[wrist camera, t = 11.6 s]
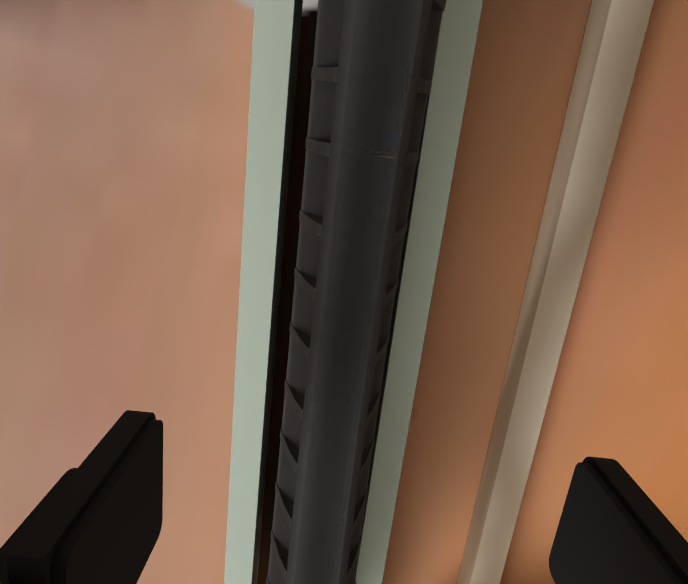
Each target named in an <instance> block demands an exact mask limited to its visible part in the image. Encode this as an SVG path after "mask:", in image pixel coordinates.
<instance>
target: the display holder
mask: <svg viewBox="0 0 688 584" xmlns="http://www.w3.org/2000/svg"><path fill="white" fill-rule="evenodd" d="M302 3H303V0H255V9H254V28H253V46H252V65H251V84H250V103H249V122H248V141H247V160H246V179H245V198H244V217H243V236H242V255H241V274H240V293H239V312H238V331H237V350H236V368H235V387H234V406H233V425H232V444H231V463H230V482H229V501H228V520H227V539H226V558H225V577H224V584H257V579H258V566H259V553H260V540H261V527H262V515H263V502H264V489H265V476H266V463H267V451H268V438H269V425H270V412H271V400H272V387H273V374H274V361H275V348H276V336H277V323H278V310H279V297H280V284H281V272H282V259H283V246H284V233H285V220H286V208H287V195H288V182H289V169H290V157H291V144H292V131H293V118H294V105H295V93H296V80H297V67H298V54H299V41H300V29H301V16H302ZM482 4H483V0H446V5H445V10H444V11H443V15H442V20H441V26H440V31H439V37H438V42H437V48H436V53H435V59H434V64H433V70H432V75H431V81H430V82H431V87H430V93H429V95H428V98H427V104H426V109H425V115H424V121H423V127H422V132H421V138H420V144H419V150H418V151H419V156H418V162H416V168H415V174H414V180H413V186H412V192H411V198H410V204H409V210H408V217H407V221H408V224H407V230H406V233H405V235H404V242H403V248H402V254H401V261H400V267H399V273H398V278H399V280H398V286H397V289H396V292H395V299H394V305H393V311H392V318H391V324H390V331H389V332H390V337H389V342H388V344H387V351H386V357H385V364H384V371H383V378H382V384H381V388H382V391H381V397H380V400H379V405H378V413H377V420H376V427H375V434H374V437H375V441H374V447H373V449H372V456H371V463H370V470H369V478H368V485H367V488H368V492H367V498H366V501H365V508H364V516H363V524H362V532H361V536H362V539H361V545H360V548H359V556H358V564H357V572H356V581H355V582H356V584H382V579H383V573H384V567H385V561H386V556H387V550H388V544H389V538H390V533H391V527H392V521H393V515H394V510H395V504H396V498H397V492H398V487H399V481H400V475H401V469H402V464H403V458H404V452H405V446H406V441H407V435H408V429H409V424H410V418H411V412H412V406H413V401H414V395H415V389H416V383H417V378H418V372H419V366H420V360H421V355H422V349H423V343H424V337H425V332H426V326H427V320H428V314H429V309H430V303H431V297H432V291H433V286H434V280H435V274H436V268H437V263H438V257H439V251H440V245H441V240H442V234H443V228H444V222H445V217H446V211H447V205H448V200H449V194H450V188H451V182H452V177H453V171H454V165H455V159H456V154H457V148H458V142H459V136H460V131H461V125H462V119H463V113H464V108H465V102H466V96H467V90H468V85H469V79H470V73H471V67H472V62H473V56H474V50H475V44H476V39H477V33H478V27H479V21H480V16H481V10H482Z"/></svg>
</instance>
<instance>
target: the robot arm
mask: <svg viewBox="0 0 688 584" xmlns="http://www.w3.org/2000/svg"><path fill="white" fill-rule="evenodd" d="M162 496H163V422H162V421H161V420H156V418H155V414H154V413H150V412H140V411H130V410H128V411H126V412H124V413H123V415H122V416H121V417H120V418H119V419H118V421H117V422H116V423H115V424H114V425H113V427H112V428H111V429H110V430H109V431H108V433H107V434H106V435H105V436H104V437H103V439H102V440H101V441H100V442H99V443H98V445H97V446H96V447H95V448H94V449H93V451H92V452H91V453H90V454H89V455H88V457H87V458H86V459H85V460H84V461H83V463H82V464H81V465H80V466H79V467H78V468H73V469H70V470H68V471H67V472H66V473H65V474H64V475H63V476H62V477H61V478H60V480H59V481H58V482H57V483H56V484H55V485H54V487H53V488H52V489H51V490H50V491H49V492H48V494H47V495H46V496H45V497H44V498H43V499H42V501H41V502H40V503H39V504H38V505H37V506H36V508H35V509H34V510H33V511H32V512H31V513H30V515H29V516H28V517H27V518H26V519H25V520H24V521H23V523H22V524H21V525H20V526H19V527H18V528H17V530H16V531H15V532H14V533H13V534H12V535H11V537H10V538H9V539H8V540H7V541H6V542H5V544H4V545H3V546H2V547H1V548H0V584H136V583H137V581H138V579H139V577H140V575H141V573H142V571H143V568H144V566H145V564H146V562H147V560H148V558H149V556H150V554H151V552H152V550H153V548H154V546H155V543H156V541H157V539H158V537H159V534H160V530H161V526H162ZM549 568H550V572H551V575H552V577H553V579H554V581H555V583H556V584H688V542H687V541H686V540H685V539H684V538H683V537H682V535H681V534H680V533H679V532H678V531H677V530H676V528H675V527H674V526H673V525H672V524H671V523H670V522H669V520H668V519H667V518H666V517H665V516H664V515H663V513H662V512H661V511H660V510H659V509H658V508H657V507H656V505H655V504H654V503H653V502H652V501H651V500H650V498H649V497H648V496H647V495H646V494H645V493H644V492H643V490H642V489H641V488H640V487H639V486H638V485H637V483H636V482H635V481H634V480H633V479H632V478H631V477H630V475H629V474H628V473H627V472H626V471H625V470H624V468H623V467H622V466H621V465H620V464H619V463H618V462H617V461H616V460H614V459H607V458H597V457H586V458H585V459H584V460H583V462H582V463H581V462H580V463H578V464H577V465H576V467H575V470H574V473H573V477H572V480H571V484H570V487H569V491H568V494H567V497H566V501H565V504H564V508H563V511H562V515H561V518H560V522H559V525H558V529H557V532H556V536H555V539H554V542H553V546H552V549H551V553H550V557H549Z"/></svg>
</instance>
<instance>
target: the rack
mask: <svg viewBox="0 0 688 584" xmlns="http://www.w3.org/2000/svg"><path fill="white" fill-rule="evenodd" d="M653 3H654V0H592V4H591V8H590V13H589V17H588V21H587V26H586V30H585V34H584V38H583V43H582V47H581V51H580V56H579V60H578V64H577V69H576V73H575V77H574V82H573V86H572V90H571V94H570V99H569V103H568V107H567V112H566V116H565V120H564V125H563V129H562V133H561V138H560V142H559V146H558V150H557V155H556V159H555V163H554V168H553V172H552V176H551V181H550V185H549V189H548V194H547V198H546V202H545V206H544V211H543V215H542V219H541V224H540V228H539V232H538V237H537V241H536V245H535V250H534V254H533V258H532V262H531V267H530V271H529V275H528V280H527V284H526V288H525V293H524V297H523V301H522V306H521V310H520V314H519V318H518V323H517V327H516V331H515V336H514V340H513V344H512V349H511V353H510V357H509V362H508V366H507V370H506V374H505V379H504V383H503V387H502V392H501V396H500V400H499V405H498V409H497V413H496V418H495V422H494V426H493V430H492V435H491V439H490V443H489V448H488V452H487V456H486V461H485V465H484V469H483V474H482V478H481V482H480V486H479V491H478V495H477V499H476V504H475V508H474V512H473V517H472V521H471V525H470V530H469V534H468V538H467V542H466V547H465V551H464V555H463V560H462V564H461V568H460V573H459V577H458V581H457V584H500V581H501V577H502V573H503V569H504V565H505V562H506V558H507V554H508V550H509V547H510V543H511V539H512V535H513V531H514V528H515V524H516V520H517V516H518V513H519V509H520V505H521V501H522V498H523V494H524V490H525V486H526V482H527V479H528V475H529V471H530V467H531V464H532V460H533V456H534V452H535V448H536V445H537V441H538V437H539V433H540V430H541V426H542V422H543V418H544V415H545V411H546V407H547V403H548V399H549V396H550V392H551V388H552V384H553V381H554V377H555V373H556V369H557V365H558V362H559V358H560V354H561V350H562V347H563V343H564V339H565V335H566V332H567V328H568V324H569V320H570V316H571V313H572V309H573V305H574V301H575V298H576V294H577V290H578V286H579V282H580V279H581V275H582V271H583V267H584V264H585V260H586V256H587V252H588V249H589V245H590V241H591V237H592V233H593V230H594V226H595V222H596V218H597V215H598V211H599V207H600V203H601V199H602V196H603V192H604V188H605V184H606V181H607V177H608V173H609V169H610V166H611V162H612V158H613V154H614V150H615V147H616V143H617V139H618V135H619V132H620V128H621V124H622V120H623V116H624V113H625V109H626V105H627V101H628V98H629V94H630V90H631V86H632V83H633V79H634V75H635V71H636V67H637V64H638V60H639V56H640V52H641V49H642V45H643V41H644V37H645V33H646V30H647V26H648V22H649V18H650V15H651V11H652V7H653Z"/></svg>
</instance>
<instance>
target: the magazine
mask: <svg viewBox="0 0 688 584" xmlns="http://www.w3.org/2000/svg"><path fill="white" fill-rule="evenodd" d="M445 5H446V0H319V1H318V13H317V26H316V38H315V50H314V62H313V67H312V73H311V80H312V87H311V99H310V111H309V122H308V134H307V137H306V145H305V149H306V158H305V170H304V181H303V193H302V204H301V210H300V214H299V220H300V228H299V239H298V250H297V262H296V267H295V272H294V277H295V285H294V296H293V308H292V319H291V322H290V330H289V332H290V341H289V353H288V364H287V375H286V380H285V386H284V389H285V397H284V408H283V419H282V429H281V430H280V451H279V462H278V473H277V481H276V484H275V491H276V494H275V505H274V515H273V526H272V529H271V547H270V557H269V567H268V576H267V578H266V584H356V582H355V581H356V572H357V564H358V556H359V548H360V545H361V539H362V536H361V532H362V524H363V516H364V508H365V501H366V498H367V492H368V488H367V485H368V478H369V470H370V463H371V456H372V449H373V447H374V441H375V437H374V434H375V427H376V420H377V413H378V405H379V400H380V397H381V391H382V388H381V384H382V378H383V371H384V364H385V357H386V351H387V344H388V342H389V337H390V332H389V331H390V324H391V318H392V311H393V305H394V299H395V292H396V289H397V286H398V280H399V278H398V273H399V267H400V261H401V254H402V248H403V242H404V235H405V233H406V230H407V224H408V221H407V217H408V210H409V204H410V198H411V192H412V186H413V180H414V174H415V168H416V162H418V156H419V151H418V150H419V144H420V138H421V132H422V127H423V121H424V115H425V109H426V104H427V98H428V95H429V93H430V87H431V82H430V81H431V75H432V70H433V64H434V59H435V53H436V48H437V42H438V37H439V31H440V26H441V20H442V15H443V11H444V10H445Z"/></svg>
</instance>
